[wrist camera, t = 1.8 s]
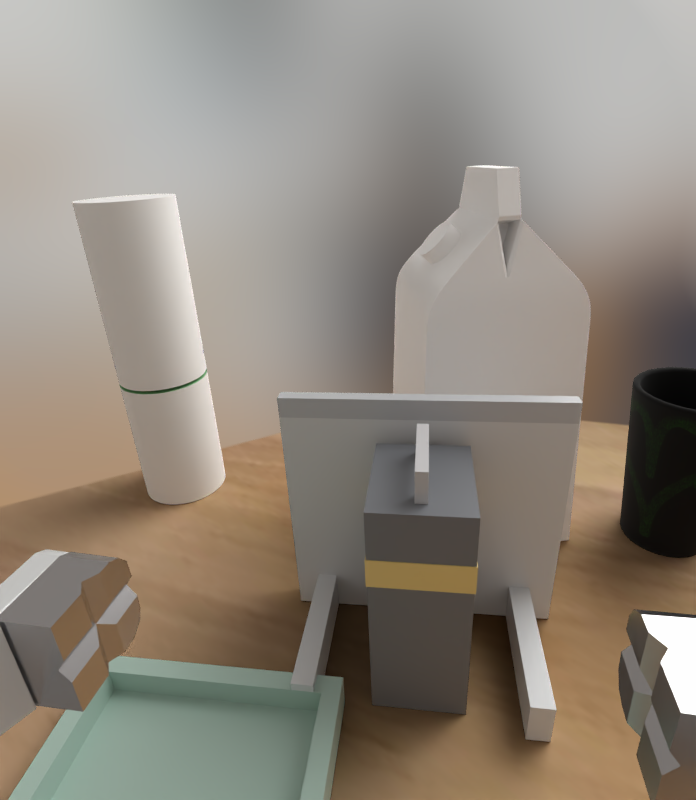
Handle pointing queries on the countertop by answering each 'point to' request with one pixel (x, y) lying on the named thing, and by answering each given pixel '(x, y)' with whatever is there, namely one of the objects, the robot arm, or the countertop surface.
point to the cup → (662, 463)
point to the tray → (192, 737)
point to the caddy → (421, 573)
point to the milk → (490, 306)
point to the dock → (497, 497)
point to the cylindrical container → (154, 340)
